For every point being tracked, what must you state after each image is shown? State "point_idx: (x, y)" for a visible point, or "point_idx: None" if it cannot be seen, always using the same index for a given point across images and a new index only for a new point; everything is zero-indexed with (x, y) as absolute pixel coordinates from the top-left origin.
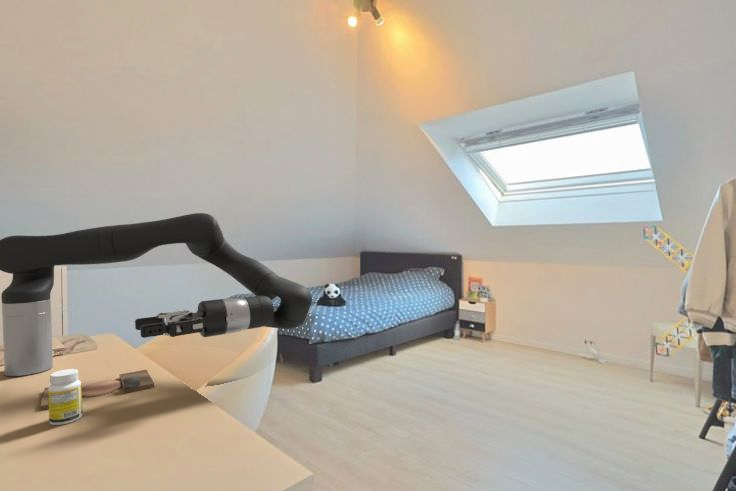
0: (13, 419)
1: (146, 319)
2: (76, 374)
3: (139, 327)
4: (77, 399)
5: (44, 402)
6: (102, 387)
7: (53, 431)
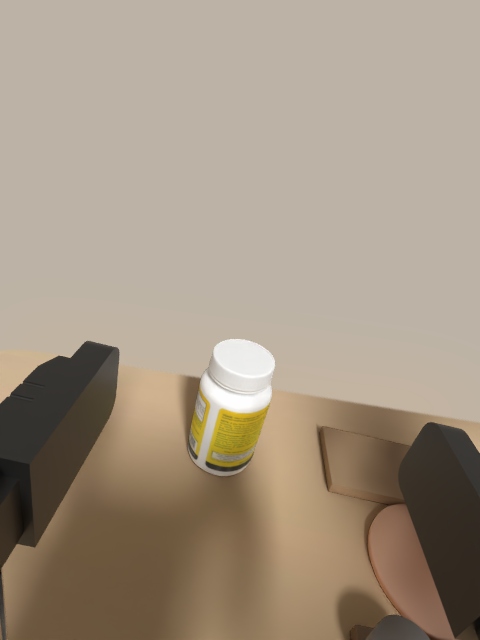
0: (296, 399)
1: (465, 491)
2: (224, 375)
3: (409, 481)
4: (202, 425)
5: (345, 435)
6: (429, 572)
7: (167, 421)
